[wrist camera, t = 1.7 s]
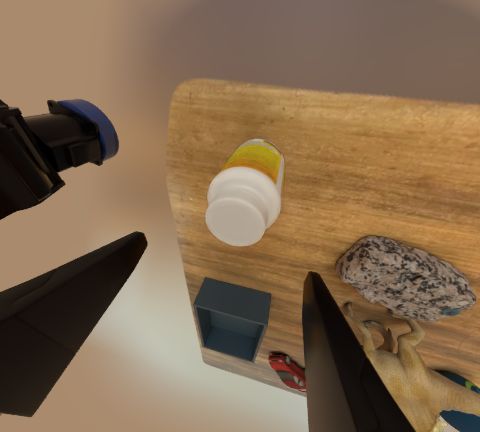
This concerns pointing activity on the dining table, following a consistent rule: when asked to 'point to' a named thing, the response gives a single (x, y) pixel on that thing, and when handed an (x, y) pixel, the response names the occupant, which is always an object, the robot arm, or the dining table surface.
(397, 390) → the dinosaur figurine
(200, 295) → the storage tote
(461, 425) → the christmas ornament
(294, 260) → the dining table surface
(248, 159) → the supplement bottle
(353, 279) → the rock
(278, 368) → the toy car
